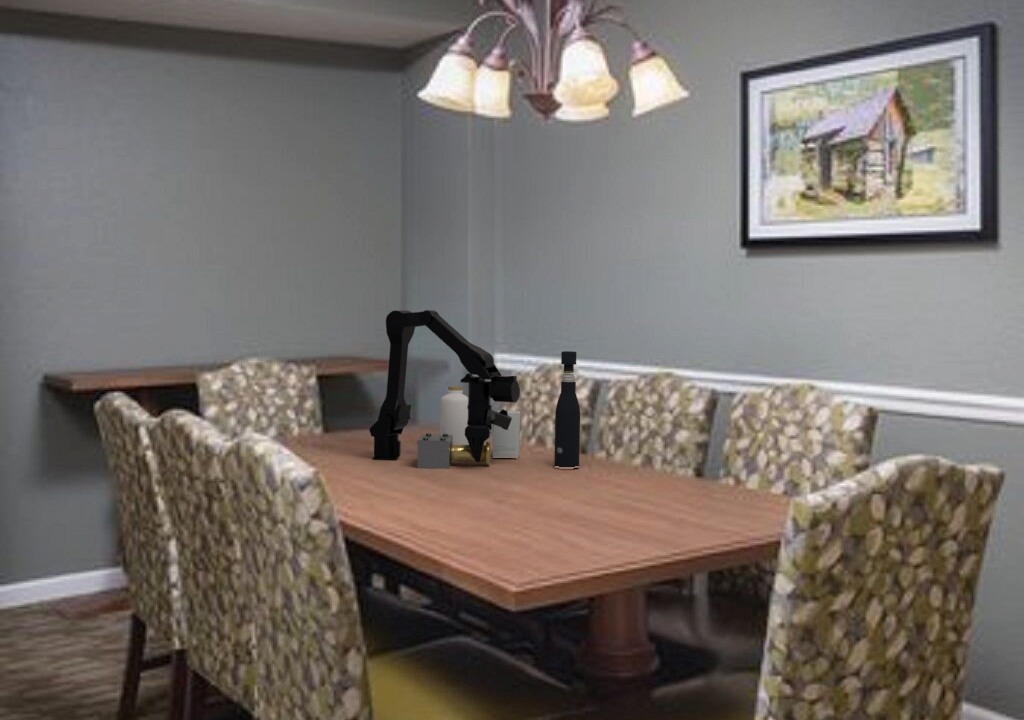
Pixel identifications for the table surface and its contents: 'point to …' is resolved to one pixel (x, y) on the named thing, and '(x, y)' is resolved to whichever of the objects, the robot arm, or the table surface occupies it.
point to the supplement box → (507, 437)
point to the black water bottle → (567, 417)
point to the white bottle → (454, 415)
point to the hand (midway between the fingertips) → (478, 460)
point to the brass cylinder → (468, 453)
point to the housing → (434, 451)
